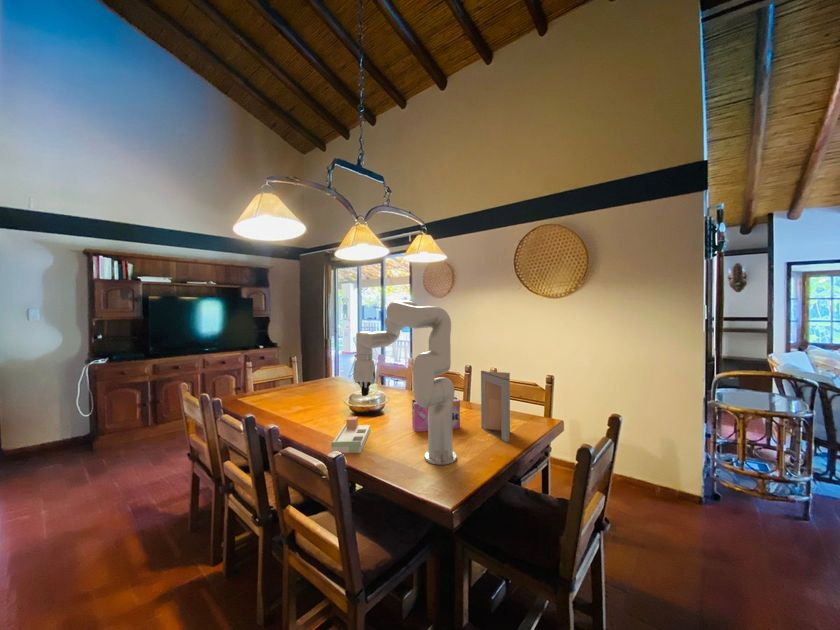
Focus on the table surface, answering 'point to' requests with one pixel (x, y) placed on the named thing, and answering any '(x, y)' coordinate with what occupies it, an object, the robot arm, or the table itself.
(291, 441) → the table surface
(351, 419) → the block
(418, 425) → the gum box
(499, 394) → the cabinet
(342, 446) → the tray
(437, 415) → the robot arm
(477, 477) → the table surface
